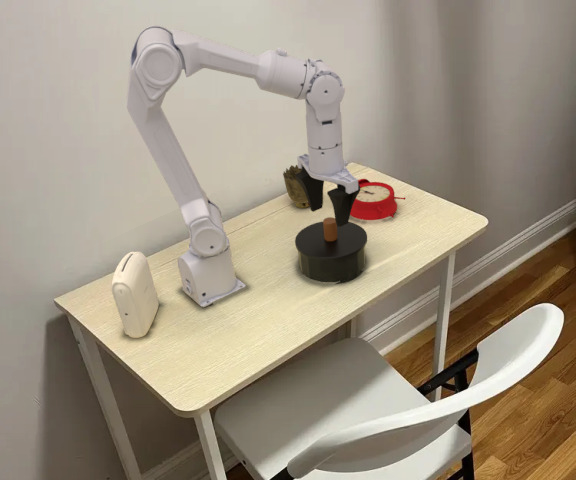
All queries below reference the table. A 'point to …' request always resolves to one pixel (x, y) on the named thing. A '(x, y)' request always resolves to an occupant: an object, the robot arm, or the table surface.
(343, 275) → the pot
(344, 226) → the lid
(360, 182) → the alarm clock
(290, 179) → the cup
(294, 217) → the table surface
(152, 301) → the photo printer
